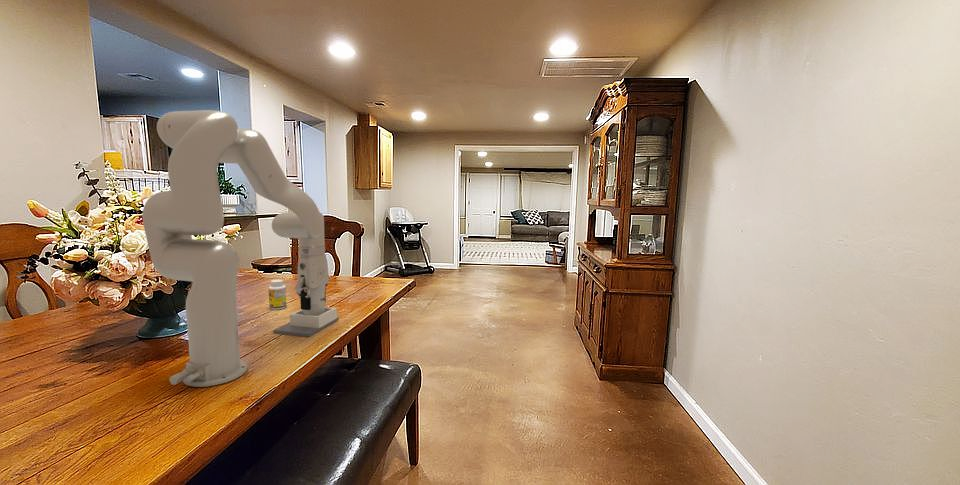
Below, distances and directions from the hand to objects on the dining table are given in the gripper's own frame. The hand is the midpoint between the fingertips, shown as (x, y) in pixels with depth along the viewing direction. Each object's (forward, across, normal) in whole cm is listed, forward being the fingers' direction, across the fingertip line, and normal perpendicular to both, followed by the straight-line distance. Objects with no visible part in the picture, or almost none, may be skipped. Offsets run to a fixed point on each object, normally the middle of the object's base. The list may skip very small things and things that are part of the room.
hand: (313, 305), depth 125 cm
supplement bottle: (+7, +12, +23) cm, 27 cm away
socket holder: (+6, -2, +1) cm, 7 cm away
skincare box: (+4, 0, 0) cm, 4 cm away
